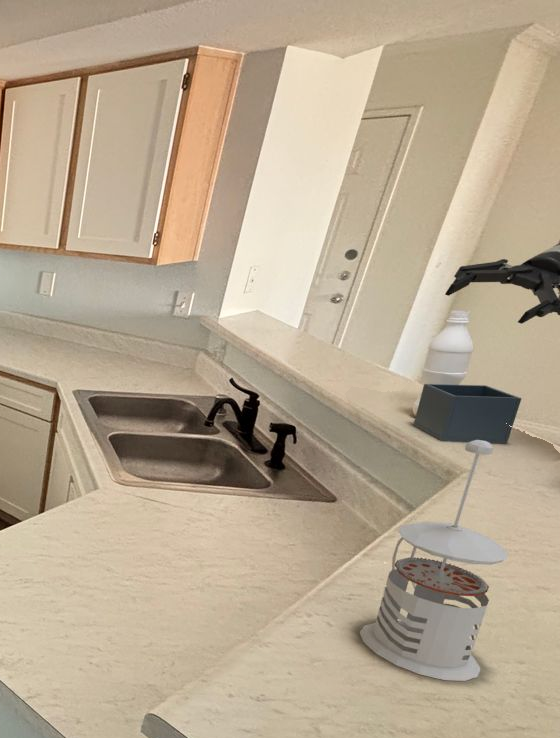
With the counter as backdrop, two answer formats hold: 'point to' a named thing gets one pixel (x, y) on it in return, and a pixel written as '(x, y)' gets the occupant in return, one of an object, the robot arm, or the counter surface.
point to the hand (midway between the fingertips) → (485, 303)
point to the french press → (435, 597)
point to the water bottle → (448, 354)
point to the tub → (466, 413)
